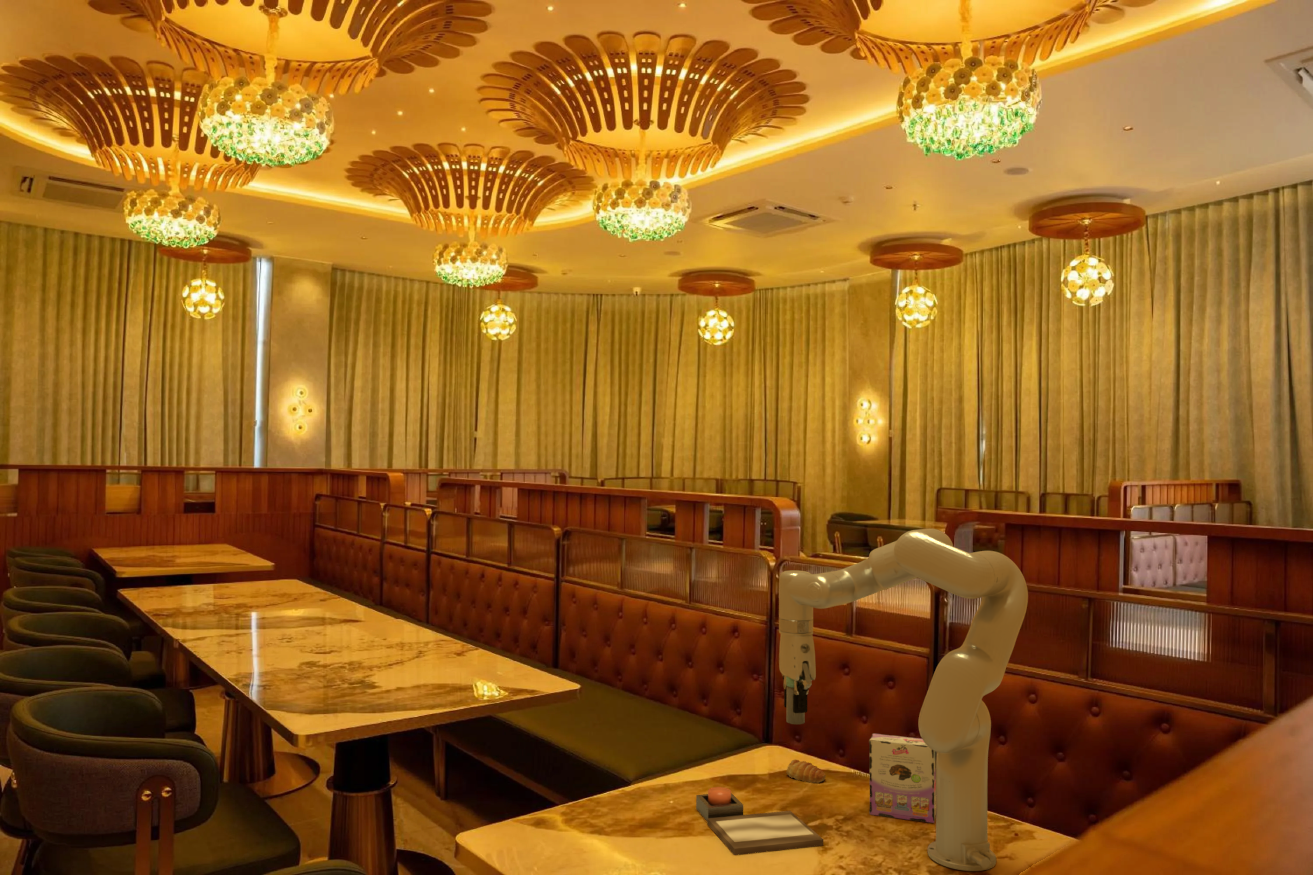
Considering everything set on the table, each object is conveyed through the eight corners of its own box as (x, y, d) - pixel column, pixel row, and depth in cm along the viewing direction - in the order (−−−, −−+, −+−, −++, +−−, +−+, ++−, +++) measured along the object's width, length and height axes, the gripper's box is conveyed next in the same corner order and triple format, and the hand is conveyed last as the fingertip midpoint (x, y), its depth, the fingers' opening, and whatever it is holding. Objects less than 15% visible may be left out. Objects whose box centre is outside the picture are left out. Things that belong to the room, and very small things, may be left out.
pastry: (831, 779, 220) (831, 764, 220) (816, 786, 215) (816, 770, 215) (798, 771, 226) (798, 755, 226) (783, 777, 221) (783, 762, 221)
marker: (808, 723, 198) (808, 677, 198) (790, 724, 197) (790, 678, 197) (800, 718, 202) (800, 673, 202) (782, 719, 201) (783, 674, 201)
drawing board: (823, 845, 179) (823, 838, 179) (734, 854, 174) (734, 847, 174) (790, 816, 195) (790, 809, 195) (707, 824, 190) (707, 817, 190)
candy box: (936, 814, 197) (936, 738, 198) (934, 824, 191) (934, 746, 192) (872, 805, 202) (872, 731, 203) (868, 814, 196) (868, 738, 197)
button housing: (743, 818, 193) (743, 804, 193) (708, 822, 191) (708, 807, 191) (730, 805, 201) (730, 791, 201) (696, 808, 198) (696, 794, 199)
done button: (734, 805, 194) (734, 793, 194) (712, 807, 193) (712, 795, 193) (726, 797, 199) (726, 786, 199) (704, 798, 198) (705, 787, 198)
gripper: (828, 632, 193) (828, 718, 192) (795, 620, 209) (795, 699, 208) (796, 633, 191) (795, 720, 190) (765, 621, 207) (765, 701, 206)
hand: (795, 708), depth 199 cm, fingers closed on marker, 4 cm apart
